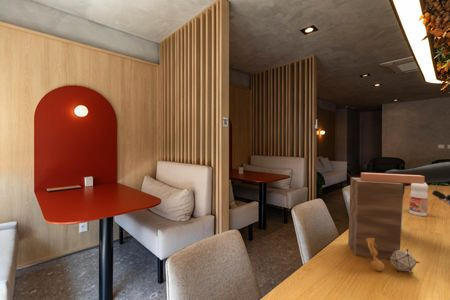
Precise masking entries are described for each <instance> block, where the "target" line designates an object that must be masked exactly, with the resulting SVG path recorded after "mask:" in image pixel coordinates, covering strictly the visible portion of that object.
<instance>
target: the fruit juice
mask: <svg viewBox="0 0 450 300" xmlns="http://www.w3.org/2000/svg"><path fill="white" fill-rule="evenodd" d="M410 189H411V190H410V192H409V205H408V206H409V207H408V209H409V210H408V211H409V214H411V215H414V216H420V217H426V216H427V215H428V203H429V193H428V190H429V185H428V184H427V183H424V184H418V183H410Z"/></svg>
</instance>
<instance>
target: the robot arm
mask: <svg viewBox="0 0 450 300" xmlns="http://www.w3.org/2000/svg"><path fill="white" fill-rule="evenodd" d="M383 174H402V175H420V176H424V177H425V178H424V183H426V184H427V183H444V182H450V161H444V162H438V163H437V162H436V163H433V164H427V165H422V166H420V167H419V166H418V167H415V168H409V169H400V170H399V169H390V170H386V171H385V172H384V173H383ZM399 183H400V182H399ZM401 184H403V197H402V213H403V211H404V210H403V206H404V194H405V190H406V187H405V186H406V185H409V184H410V185H411V183H401ZM431 194H432V195H433V196H434V197H437V198H438V199H439V200H440V201H442V202H444V203H446V204H447V205H448V206H450V194H447V195H446V194H444V193H442V192H440V191H439V190H436V189H434V190H433V191H432V193H431ZM402 227H403V218H402V219H401V230H402Z"/></svg>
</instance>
